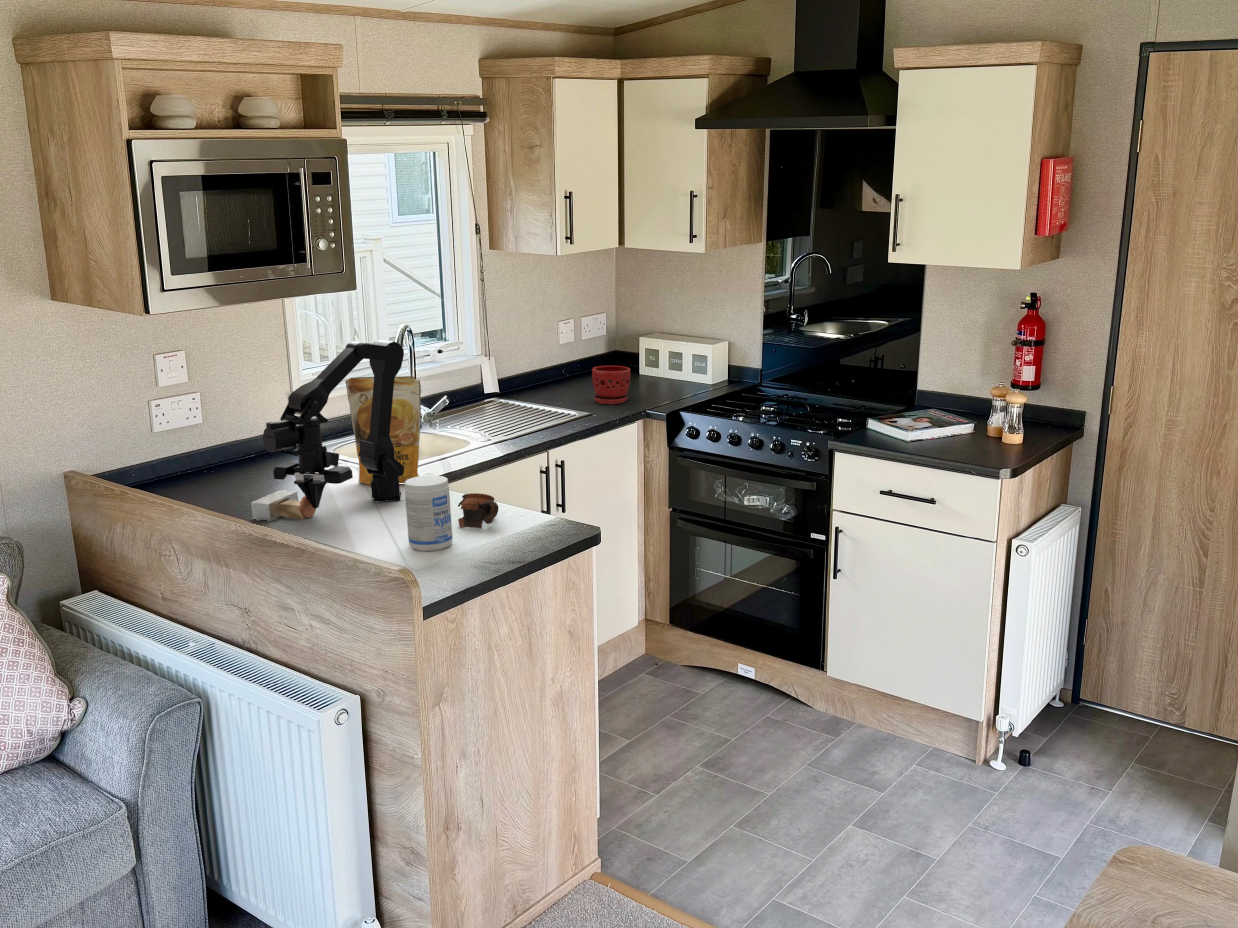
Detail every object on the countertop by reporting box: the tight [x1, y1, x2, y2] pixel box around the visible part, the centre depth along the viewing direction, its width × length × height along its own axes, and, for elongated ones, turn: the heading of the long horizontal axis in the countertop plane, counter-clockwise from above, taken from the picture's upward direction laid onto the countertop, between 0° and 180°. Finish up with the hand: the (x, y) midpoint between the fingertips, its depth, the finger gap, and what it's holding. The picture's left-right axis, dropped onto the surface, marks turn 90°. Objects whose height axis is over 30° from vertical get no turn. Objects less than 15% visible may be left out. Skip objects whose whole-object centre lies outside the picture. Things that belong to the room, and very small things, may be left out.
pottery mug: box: [457, 492, 499, 529], centre depth 263 cm, size 12×10×8 cm
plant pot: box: [591, 365, 631, 405], centre depth 392 cm, size 13×13×12 cm
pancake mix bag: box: [344, 375, 422, 486], centre depth 298 cm, size 7×19×28 cm, turn 86°
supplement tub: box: [404, 474, 453, 552], centre depth 247 cm, size 10×10×15 cm
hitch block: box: [250, 489, 299, 522], centre depth 275 cm, size 5×11×4 cm, turn 159°
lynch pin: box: [278, 495, 317, 520], centre depth 274 cm, size 10×5×5 cm, turn 68°
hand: (316, 507), depth 271 cm, fingers closed
